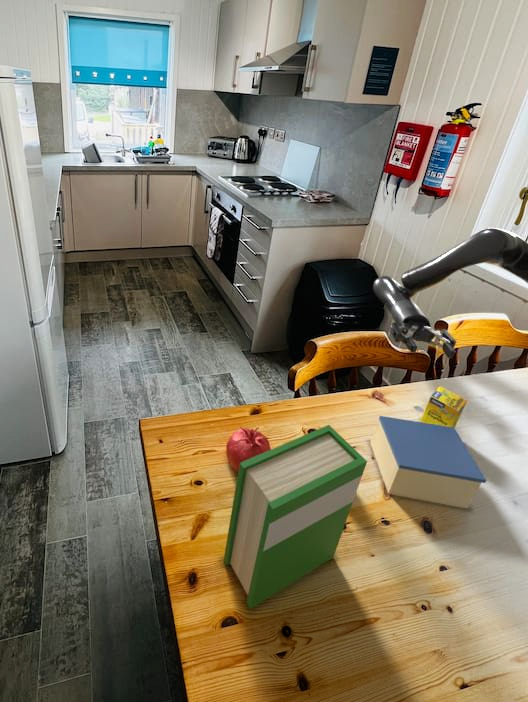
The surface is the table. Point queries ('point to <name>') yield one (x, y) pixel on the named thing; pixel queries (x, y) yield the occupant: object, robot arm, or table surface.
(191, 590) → the table surface
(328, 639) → the table surface
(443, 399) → the supplement box
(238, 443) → the pomegranate
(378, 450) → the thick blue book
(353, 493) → the hardback book
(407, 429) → the lid
